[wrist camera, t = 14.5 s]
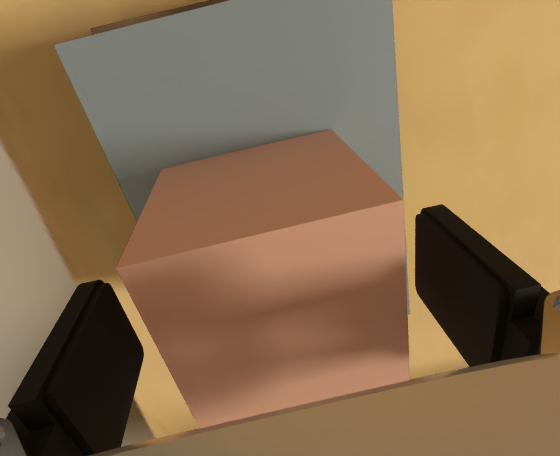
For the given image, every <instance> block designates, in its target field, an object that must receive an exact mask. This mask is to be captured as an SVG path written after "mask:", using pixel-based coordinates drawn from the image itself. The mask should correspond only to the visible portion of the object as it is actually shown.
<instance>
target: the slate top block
mask: <svg viewBox="0 0 560 456" xmlns="http://www.w3.org/2000/svg"><path fill="white" fill-rule="evenodd" d="M54 47H55V50H56V52H57V54H58V56H59V58H60V60H61V62H62V64H63V66H64V69H65V71H66V73H67V75H68V77H69V79H70V81H71V83H72V85H73V88H74V90H75V92H76V94H77V96H78V98H79V100H80V102H81V104H82V107H83V109H84V111H85V113H86V115H87V117H88V119H89V121H90V123H91V126H92V128H93V130H94V132H95V134H96V136H97V138H98V140H99V142H100V145H101V147H102V149H103V151H104V153H105V155H106V157H107V159H108V161H109V164H110V166H111V168H112V170H113V172H114V174H115V176H116V178H117V180H118V183H119V185H120V187H121V189H122V191H123V193H124V195H125V197H126V199H127V202H128V204H129V206H130V208H131V210H132V212H133V214H134V216H135V218H136V221H137V222H138V219H139V217H140V215H141V213H142V211H143V209H144V206H145V204H146V202H147V200H148V198H149V196H150V193H151V191H152V189H153V187H154V185H155V183H156V180H157V178H158V176H159V174H160V172H161V170H162V169H163V168H168V167H172V166H176V165H180V164H185V163H189V162H193V161H197V160H202V159H206V158H210V157H214V156H219V155H223V154H227V153H231V152H236V151H240V150H244V149H248V148H253V147H257V146H261V145H265V144H270V143H274V142H278V141H282V140H287V139H291V138H295V137H299V136H304V135H308V134H312V133H316V132H321V131H325V130H329V129H332V130H333V131H334V132H335V133H336V134H337V135H338V136H339V137H340V138H341V139H342V140H343V141H344V142H345V143H346V144H347V145H348V146H349V147H350V148H351V149H352V150H353V151H354V152H355V153H356V154H357V155H358V156H359V157H360V158H361V159H362V160H363V161H364V162H365V163H366V164H367V165H368V166H370V167H371V168H372V169H373V170H374V171H375V172H376V173H377V174H378V175H379V176H380V177H381V178H382V179H383V180H384V181H385V182H386V183H387V184H388V185H389V186H390V187H391V188H392V189H393V190H394V191H395V192H396V193H397V194H398V195H399V196H400V197H401V198H402V199H403V184H402V166H401V149H400V131H399V113H398V95H397V78H396V60H395V42H394V24H393V7H392V0H229V1H225V2H221V3H217V4H213V5H209V6H205V7H201V8H197V9H194V10H190V11H186V12H182V13H178V14H174V15H170V16H166V17H162V18H158V19H154V20H150V21H146V22H142V23H138V24H134V25H130V26H126V27H122V28H118V29H114V30H111V31H107V32H103V33H99V34H95V35H91V36H87V37H83V38H79V39H75V40H71V41H67V42H63V43H59V44H55V45H54ZM404 225H405V220H404ZM405 255H406V237H405ZM406 284H407V314H408V315H409V314H410V308H409V291H408V273H407V255H406Z"/></svg>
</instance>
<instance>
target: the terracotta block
mask: <svg viewBox="0 0 560 456" xmlns="http://www.w3.org/2000/svg"><path fill="white" fill-rule="evenodd" d="M116 270H117V271H118V273H119V275H120V277H121V279H122V281H123V283H124V285H125V287H126V289H127V291H128V292H129V294H130V296H131V298H132V300H133V302H134V304H135V306H136V308H137V310H138V312H139V314H140V315H141V317H142V319H143V321H144V323H145V325H146V327H147V329H148V331H149V333H150V335H151V337H152V338H153V340H154V342H155V344H156V346H157V348H158V350H159V352H160V354H161V356H162V358H163V359H164V361H165V363H166V365H167V367H168V369H169V371H170V373H171V375H172V377H173V379H174V381H175V382H176V384H177V386H178V388H179V390H180V392H181V394H182V396H183V398H184V400H185V402H186V404H187V405H188V407H189V409H190V411H191V413H192V415H193V417H194V419H195V421H196V423H197V425H198V427H199V428H204V427H208V426H212V425H216V424H221V423H225V422H229V421H233V420H238V419H242V418H246V417H251V416H255V415H259V414H264V413H268V412H272V411H276V410H281V409H285V408H289V407H294V406H298V405H302V404H307V403H311V402H315V401H320V400H324V399H329V398H333V397H337V396H342V395H346V394H350V393H355V392H359V391H364V390H368V389H373V388H377V387H381V386H386V385H390V384H395V383H399V382H404V381H408V380H410V373H409V343H408V314H407V284H406V255H405V225H404V200H403V199H402V198H401V197H400V196H399V195H398V194H397V193H396V192H395V191H394V190H393V189H392V188H391V187H390V186H389V185H388V184H387V183H386V182H385V181H384V180H383V179H382V178H381V177H380V176H379V175H378V174H377V173H376V172H375V171H374V170H373V169H372V168H371V167H370V166H368V165H367V164H366V163H365V162H364V161H363V160H362V159H361V158H360V157H359V156H358V155H357V154H356V153H355V152H354V151H353V150H352V149H351V148H350V147H349V146H348V145H347V144H346V143H345V142H344V141H343V140H342V139H341V138H340V137H339V136H338V135H337V134H336V133H335V132H334V131H333V130H332V129H329V130H325V131H321V132H316V133H312V134H308V135H304V136H299V137H295V138H291V139H287V140H282V141H278V142H274V143H270V144H265V145H261V146H257V147H253V148H248V149H244V150H240V151H236V152H231V153H227V154H223V155H219V156H214V157H210V158H206V159H202V160H197V161H193V162H189V163H185V164H180V165H176V166H172V167H168V168H163V169H162V170H161V172H160V174H159V176H158V178H157V180H156V183H155V185H154V187H153V189H152V191H151V193H150V196H149V198H148V200H147V202H146V204H145V206H144V209H143V211H142V213H141V215H140V217H139V219H138V222H137V224H136V226H135V228H134V230H133V232H132V235H131V237H130V239H129V241H128V243H127V245H126V248H125V250H124V252H123V254H122V256H121V258H120V261H119V263H118V265H117V267H116Z"/></svg>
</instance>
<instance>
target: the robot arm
mask: <svg viewBox="0 0 560 456" xmlns="http://www.w3.org/2000/svg"><path fill="white" fill-rule="evenodd" d="M415 286H416V290H417V293H418V295H419V297H420V298H421V299H422V301H423V302H424V304H425V305H426V306H427V308H428V309H429V311H430V312H431V313H432V315H433V316H434V318H435V319H436V320H437V322H438V323H439V325H440V326H441V327H442V329H443V330H444V332H445V333H446V334H447V336H448V337H449V339H450V340H451V341H452V343H453V344H454V346H455V347H456V348H457V350H458V351H459V353H460V354H461V355H462V357H463V358H464V359H465V361H466V362H467V364H468V365H469V366H470V367H468V368H463V369H458V370H454V371H449V372H444V373H439V374H435V375H430V376H426V377H421V378H417V379H412V380H408V381H404V382H399V383H395V384H390V385H386V386H381V387H377V388H373V389H368V390H364V391H359V392H355V393H350V394H346V395H342V396H337V397H333V398H329V399H324V400H320V401H315V402H311V403H307V404H302V405H298V406H294V407H289V408H285V409H281V410H276V411H272V412H268V413H264V414H259V415H255V416H251V417H246V418H242V419H238V420H233V421H229V422H225V423H221V424H216V425H212V426H208V427H204V428H200V429H195V430H191V431H187V432H183V433H178V434H174V435H170V436H166V437H162V438H157V439H153V440H149V441H145V442H141V443H136V444H132V445H128V446H124V447H121V444H122V440H123V436H124V432H125V428H126V424H127V420H128V416H129V413H130V408H131V404H132V401H133V397H134V393H135V389H136V385H137V381H138V377H139V374H140V370H141V366H142V362H143V357H144V352H143V347H142V345H141V343H140V341H139V339H138V337H137V335H136V333H135V331H134V329H133V327H132V325H131V323H130V321H129V319H128V317H127V315H126V314H125V312H124V310H123V308H122V306H121V304H120V302H119V300H118V298H117V296H116V294H115V292H114V290H113V288H112V287H111V285H110V284H109V283H104V282H103V281H102V280H96V281H92V282H87V283H82V284H79V285H78V286H77V288H76V290H75V292H74V293H73V295H72V297H71V299H70V300H69V302H68V304H67V305H66V307H65V309H64V310H63V312H62V314H61V316H60V317H59V319H58V321H57V322H56V324H55V326H54V328H53V329H52V331H51V333H50V334H49V336H48V338H47V340H46V341H45V343H44V345H43V346H42V348H41V350H40V352H39V353H38V355H37V357H36V358H35V360H34V362H33V364H32V365H31V367H30V369H29V371H28V372H27V374H26V376H25V377H24V379H23V381H22V383H21V384H20V386H19V388H18V389H17V391H16V393H15V395H14V396H13V398H12V400H11V401H10V403H9V405H8V406H9V408H10V409H11V411H10V412H9V414H8V416H7V418H6V419H4V418H0V456H560V290H558V291H555V292H552V293H551V294H550V293H549V292H548V291H546V290H545V289H544V288H543V287H541V284H540V283H538V282H537V281H536V280H535V279H534V278H532V277H531V276H530V275H529V274H527V273H526V272H525V271H524V270H523V269H521V268H520V267H519V266H518V265H516V264H515V263H514V262H513V261H512V260H510V259H509V258H508V257H507V256H505V255H504V254H503V253H502V252H500V251H499V250H498V249H497V248H496V247H494V246H493V245H492V244H491V243H489V242H488V241H487V240H486V239H485V238H483V237H482V236H481V235H480V234H478V233H477V232H476V231H475V230H474V229H472V228H471V227H470V226H469V225H467V224H466V223H465V222H464V221H462V220H461V219H460V218H459V217H458V216H456V215H455V214H454V213H453V212H451V211H450V210H449V209H448V208H447V207H445V206H444V205H436V206H432V207H427V208H423V209H422V210H421V213H420V214H417V215H416V220H415Z"/></svg>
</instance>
